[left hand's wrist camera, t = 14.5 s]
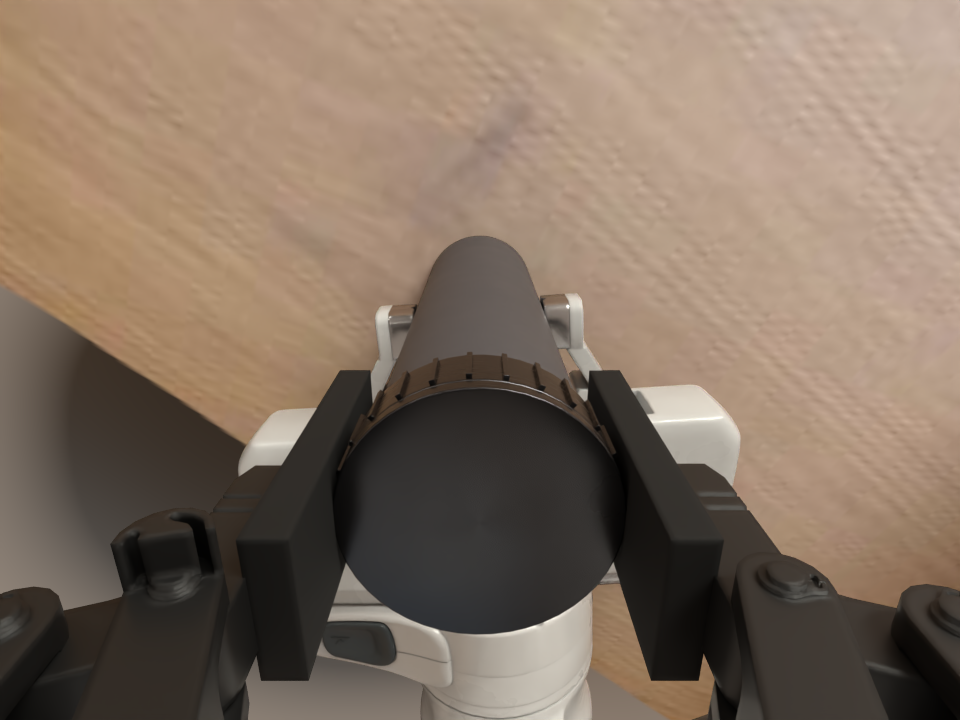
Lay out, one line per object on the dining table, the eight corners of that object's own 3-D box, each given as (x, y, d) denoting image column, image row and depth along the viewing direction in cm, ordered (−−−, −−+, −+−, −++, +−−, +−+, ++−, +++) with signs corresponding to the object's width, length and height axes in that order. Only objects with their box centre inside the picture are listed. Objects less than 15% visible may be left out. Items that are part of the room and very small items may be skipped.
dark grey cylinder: (444, 222, 27) (383, 357, 10) (543, 252, 28) (649, 432, 10) (418, 318, 29) (326, 577, 12) (512, 345, 30) (558, 632, 12)
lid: (381, 316, 11) (365, 344, 9) (653, 393, 12) (680, 433, 10) (323, 545, 13) (302, 602, 11) (559, 603, 13) (570, 663, 12)
